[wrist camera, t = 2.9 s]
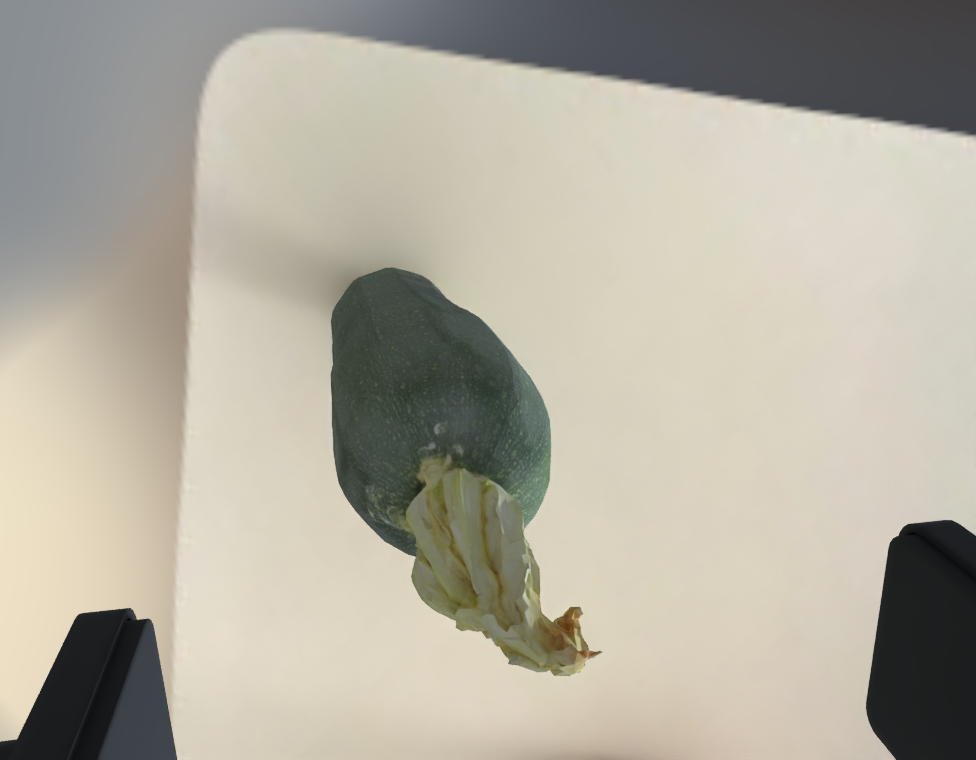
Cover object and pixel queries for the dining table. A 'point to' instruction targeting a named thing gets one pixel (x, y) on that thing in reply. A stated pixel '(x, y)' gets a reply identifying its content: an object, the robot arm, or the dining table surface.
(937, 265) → the dining table surface
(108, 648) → the robot arm
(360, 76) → the dining table surface
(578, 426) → the dining table surface
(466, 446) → the vegetable
